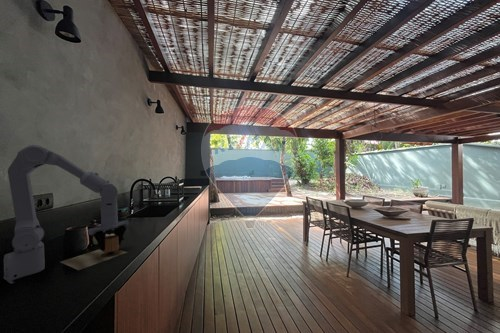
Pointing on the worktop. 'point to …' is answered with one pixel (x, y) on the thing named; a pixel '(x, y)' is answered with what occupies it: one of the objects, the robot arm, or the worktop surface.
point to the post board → (91, 258)
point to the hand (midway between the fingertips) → (110, 247)
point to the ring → (111, 243)
